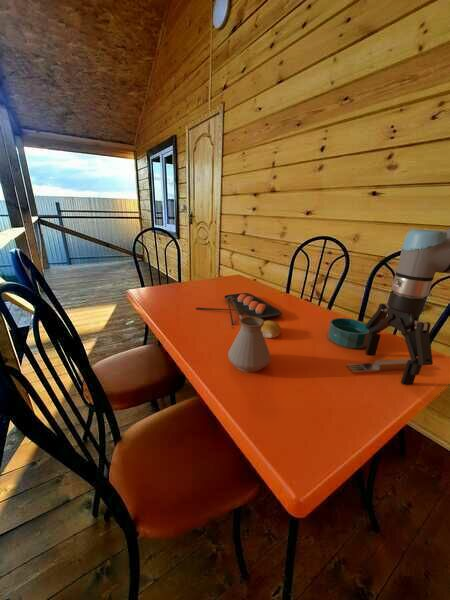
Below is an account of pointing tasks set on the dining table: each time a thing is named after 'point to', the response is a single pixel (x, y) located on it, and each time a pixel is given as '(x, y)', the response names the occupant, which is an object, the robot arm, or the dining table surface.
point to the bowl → (348, 333)
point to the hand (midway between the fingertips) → (386, 367)
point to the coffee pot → (249, 344)
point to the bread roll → (270, 329)
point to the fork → (378, 366)
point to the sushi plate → (250, 306)
